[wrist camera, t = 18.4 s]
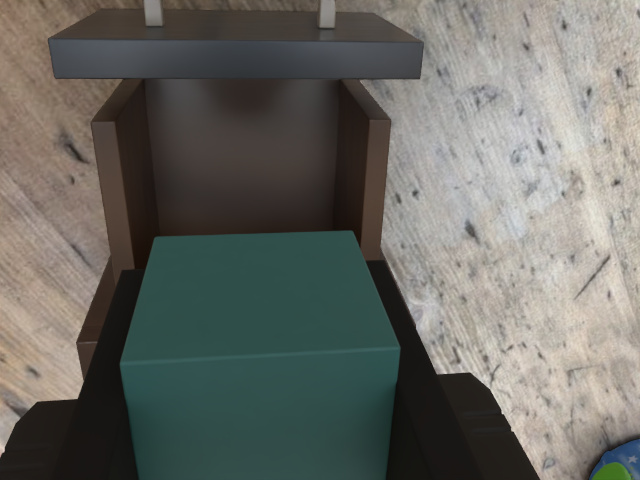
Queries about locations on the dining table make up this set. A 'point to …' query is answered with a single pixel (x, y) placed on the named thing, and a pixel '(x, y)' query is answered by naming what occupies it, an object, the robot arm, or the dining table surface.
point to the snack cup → (619, 463)
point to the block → (260, 360)
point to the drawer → (237, 121)
